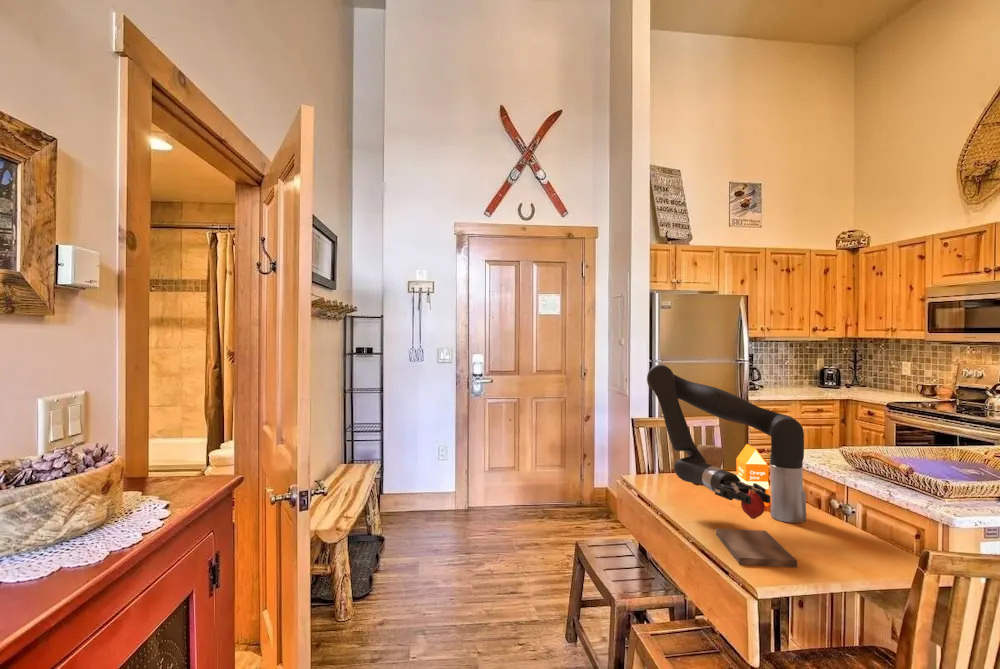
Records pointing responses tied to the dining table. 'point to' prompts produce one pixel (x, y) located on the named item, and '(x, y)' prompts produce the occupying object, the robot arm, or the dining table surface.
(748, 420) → the robot arm
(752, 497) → the onion
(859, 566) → the dining table surface
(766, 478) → the orange juice
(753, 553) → the cutting board
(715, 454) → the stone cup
